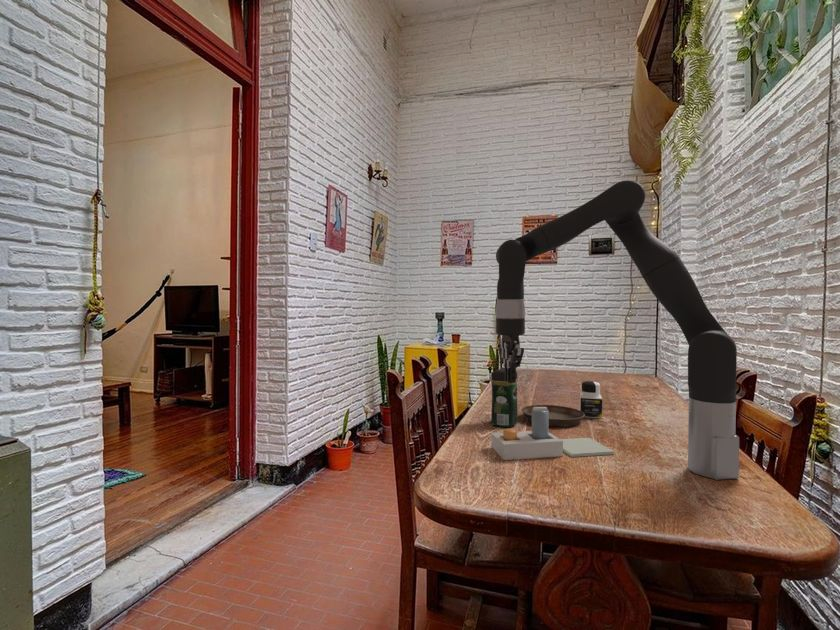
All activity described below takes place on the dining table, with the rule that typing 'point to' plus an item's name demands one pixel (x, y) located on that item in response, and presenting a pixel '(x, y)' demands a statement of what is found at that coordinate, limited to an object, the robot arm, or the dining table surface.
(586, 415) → the medicine bottle
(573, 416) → the plant saucer
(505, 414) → the coffee jar
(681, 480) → the dining table surface
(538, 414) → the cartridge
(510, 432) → the orange rounded piece
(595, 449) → the pad
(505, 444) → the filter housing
